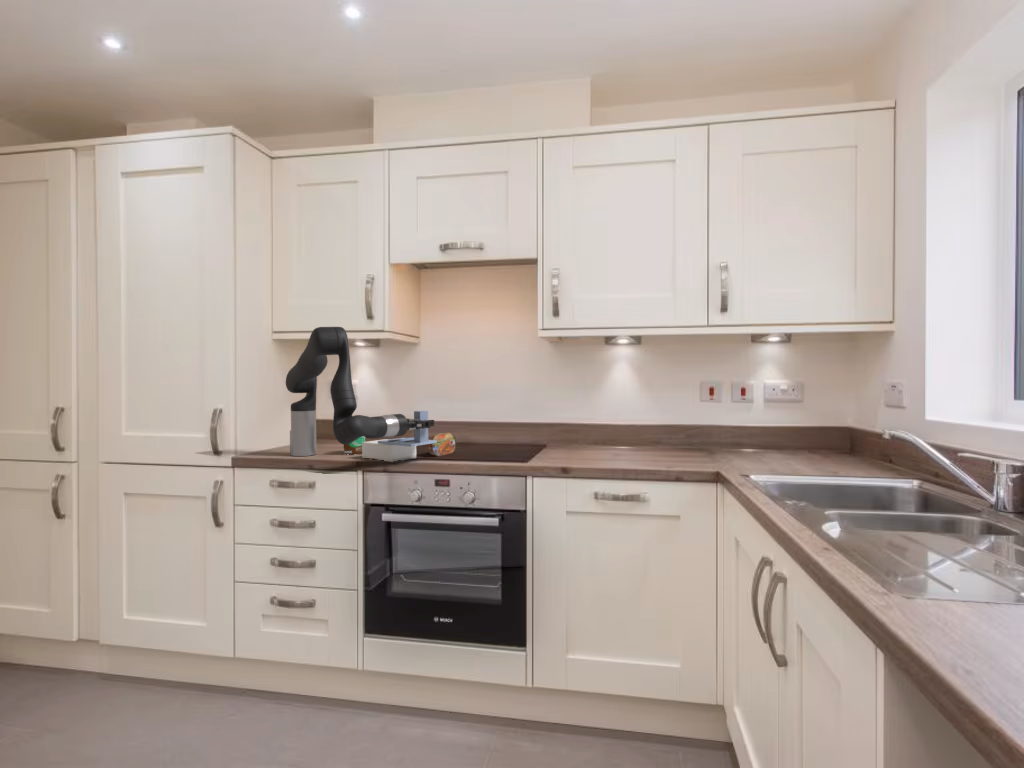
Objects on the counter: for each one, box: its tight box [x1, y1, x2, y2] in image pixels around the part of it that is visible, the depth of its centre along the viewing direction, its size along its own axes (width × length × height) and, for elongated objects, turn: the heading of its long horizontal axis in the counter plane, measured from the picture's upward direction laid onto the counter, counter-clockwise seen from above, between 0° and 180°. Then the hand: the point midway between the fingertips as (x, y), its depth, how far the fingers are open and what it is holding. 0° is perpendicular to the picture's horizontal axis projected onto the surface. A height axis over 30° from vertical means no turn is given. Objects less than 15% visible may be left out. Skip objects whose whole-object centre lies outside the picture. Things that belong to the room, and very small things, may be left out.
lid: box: [378, 410, 437, 447], centre depth 201 cm, size 17×13×12 cm
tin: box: [427, 431, 457, 457], centre depth 216 cm, size 15×3×8 cm, turn 149°
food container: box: [342, 436, 366, 456], centre depth 219 cm, size 12×6×10 cm, turn 161°
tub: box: [361, 438, 417, 463], centre depth 207 cm, size 16×12×6 cm
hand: (424, 422), depth 199 cm, fingers open, 8 cm apart
